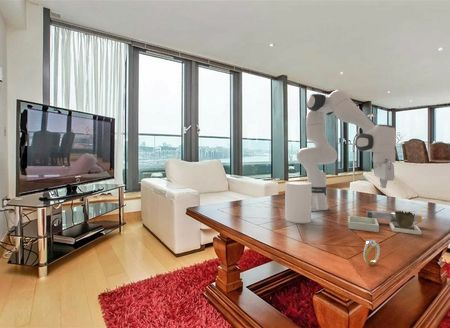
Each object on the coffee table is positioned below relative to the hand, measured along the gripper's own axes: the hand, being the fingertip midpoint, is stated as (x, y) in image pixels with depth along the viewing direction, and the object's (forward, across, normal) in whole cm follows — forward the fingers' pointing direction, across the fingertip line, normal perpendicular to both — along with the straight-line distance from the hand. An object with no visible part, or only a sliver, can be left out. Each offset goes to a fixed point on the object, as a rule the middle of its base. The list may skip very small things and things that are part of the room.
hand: (383, 187), depth 117 cm
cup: (+19, -1, -9) cm, 21 cm away
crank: (+17, +8, -6) cm, 20 cm away
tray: (+19, -2, +9) cm, 21 cm away
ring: (+19, -45, +13) cm, 50 cm away
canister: (+19, +2, +39) cm, 44 cm away
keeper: (+19, -1, -9) cm, 21 cm away
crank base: (+19, +8, -8) cm, 22 cm away
